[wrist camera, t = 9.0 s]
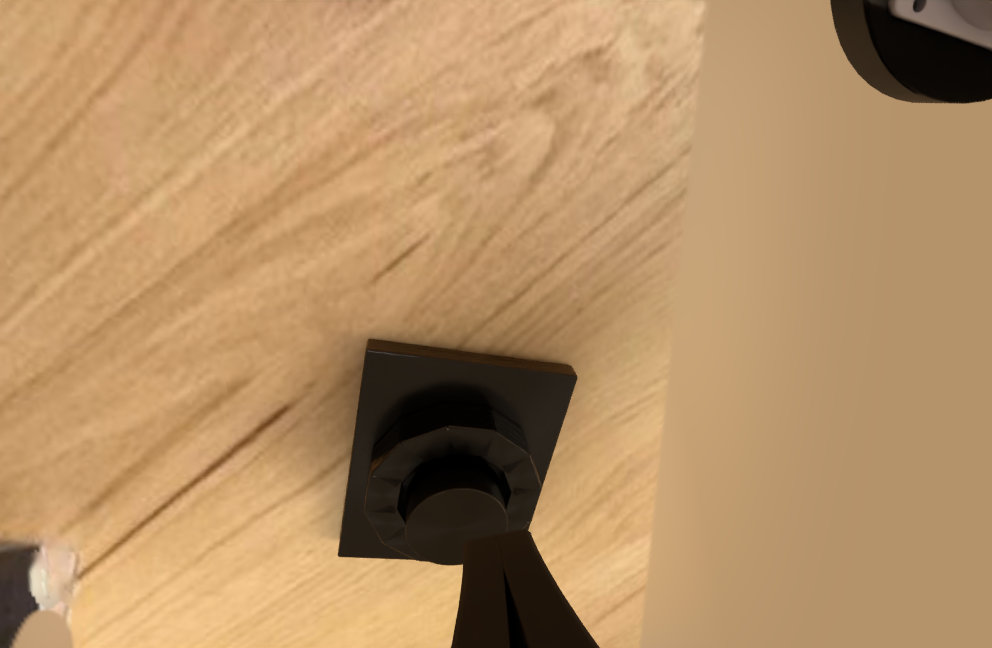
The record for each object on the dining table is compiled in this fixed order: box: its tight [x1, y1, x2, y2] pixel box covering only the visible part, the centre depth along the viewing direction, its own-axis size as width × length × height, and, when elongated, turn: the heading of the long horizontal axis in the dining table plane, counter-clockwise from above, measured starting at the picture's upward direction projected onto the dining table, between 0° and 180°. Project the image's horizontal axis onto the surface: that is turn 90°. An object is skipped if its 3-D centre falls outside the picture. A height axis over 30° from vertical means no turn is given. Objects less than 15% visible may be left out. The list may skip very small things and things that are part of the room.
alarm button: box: [405, 456, 508, 565], centre depth 18 cm, size 4×4×2 cm
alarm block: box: [338, 339, 577, 562], centre depth 20 cm, size 8×10×2 cm
